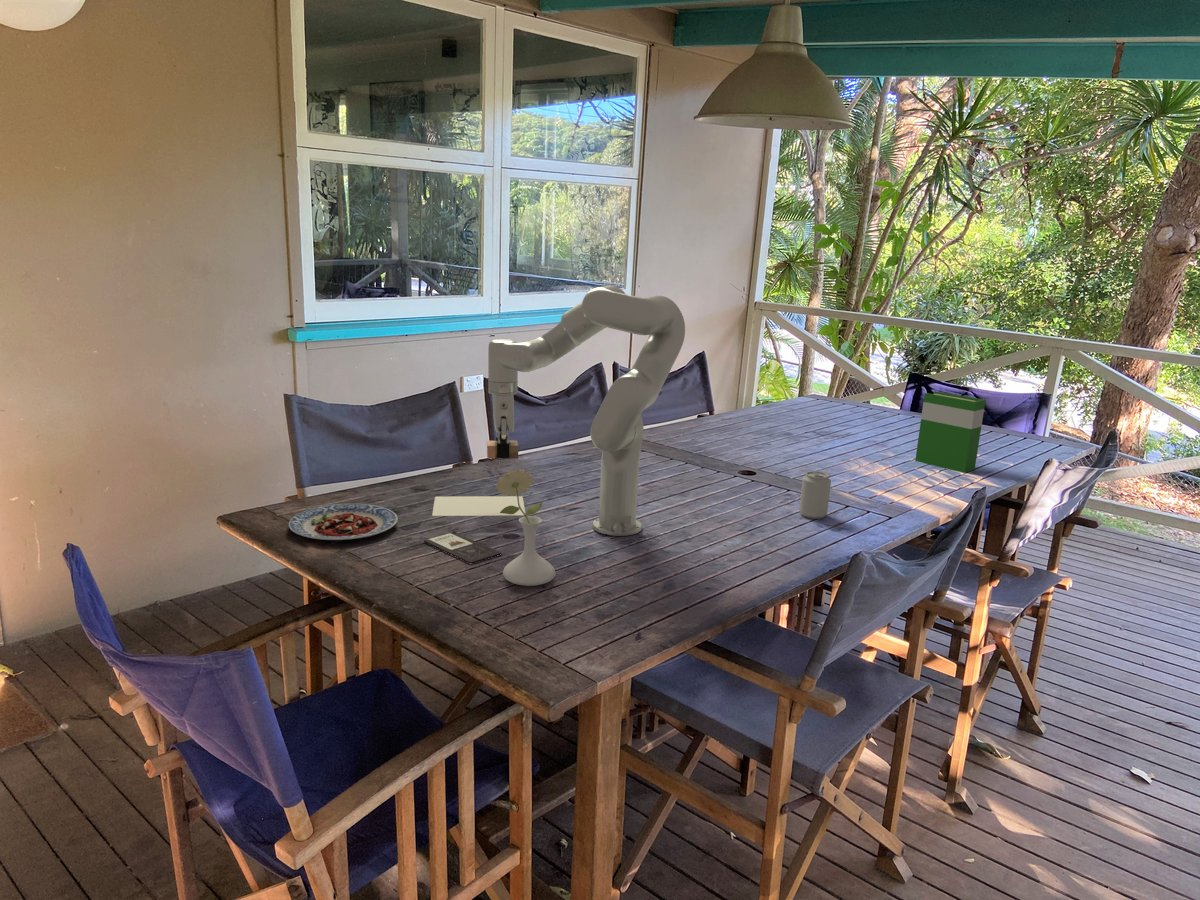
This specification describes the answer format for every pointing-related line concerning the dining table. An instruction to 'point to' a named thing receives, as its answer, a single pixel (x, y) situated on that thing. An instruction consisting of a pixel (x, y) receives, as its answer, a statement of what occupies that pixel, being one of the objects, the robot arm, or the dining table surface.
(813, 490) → the can
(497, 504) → the mat
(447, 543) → the chocolate bar
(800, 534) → the dining table surface
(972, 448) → the green cereal box
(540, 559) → the flower in vase
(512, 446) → the orange-brown block
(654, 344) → the robot arm
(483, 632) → the dining table surface
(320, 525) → the ceramic plate
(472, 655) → the dining table surface
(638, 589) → the dining table surface
